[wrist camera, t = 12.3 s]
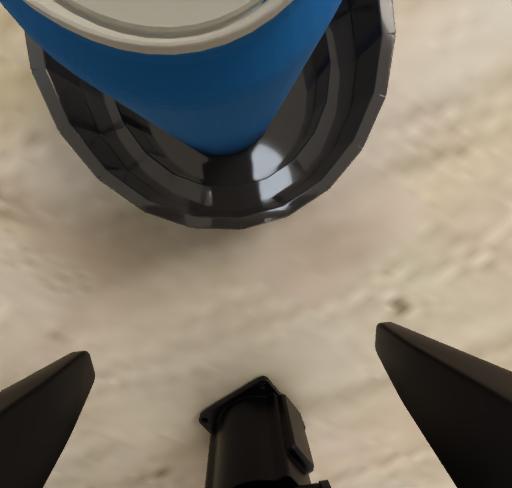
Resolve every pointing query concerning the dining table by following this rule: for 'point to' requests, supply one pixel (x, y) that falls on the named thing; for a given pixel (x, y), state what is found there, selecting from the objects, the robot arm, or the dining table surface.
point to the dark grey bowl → (250, 159)
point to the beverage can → (185, 58)
